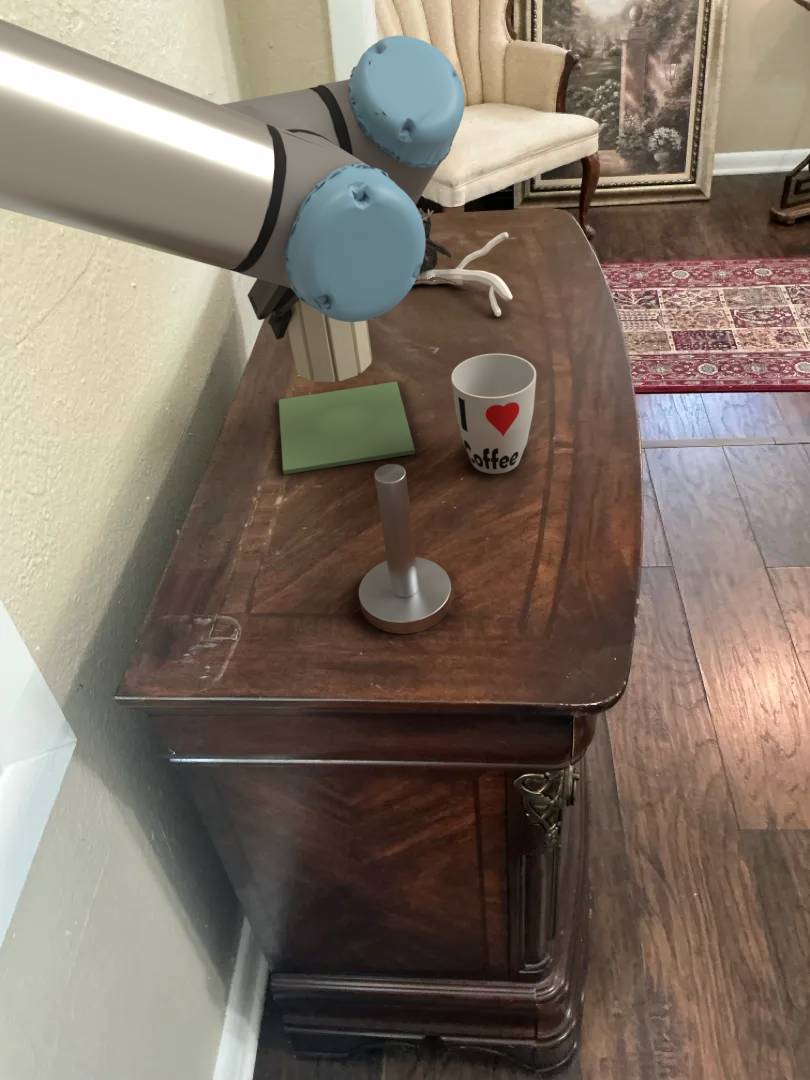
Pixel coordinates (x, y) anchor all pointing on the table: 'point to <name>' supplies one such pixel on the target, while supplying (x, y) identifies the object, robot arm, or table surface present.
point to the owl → (461, 267)
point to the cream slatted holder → (327, 345)
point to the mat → (343, 428)
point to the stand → (402, 567)
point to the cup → (494, 409)
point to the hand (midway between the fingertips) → (314, 313)
